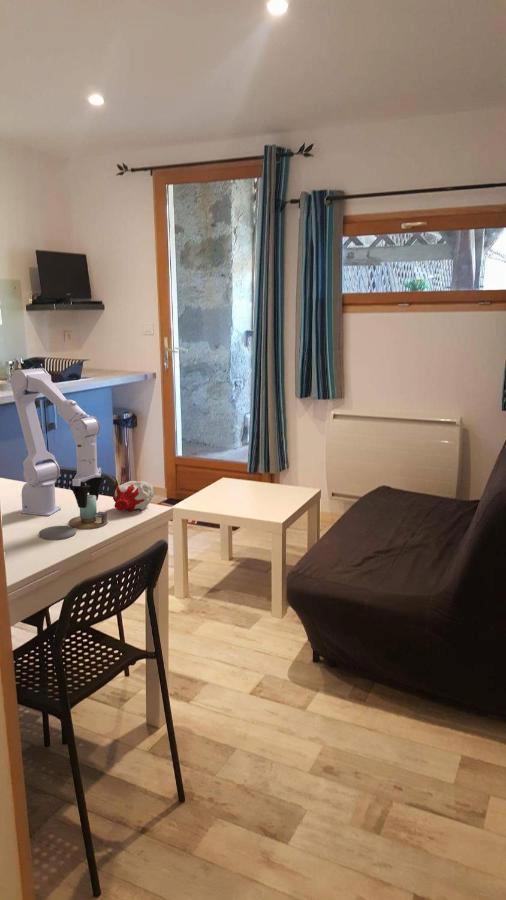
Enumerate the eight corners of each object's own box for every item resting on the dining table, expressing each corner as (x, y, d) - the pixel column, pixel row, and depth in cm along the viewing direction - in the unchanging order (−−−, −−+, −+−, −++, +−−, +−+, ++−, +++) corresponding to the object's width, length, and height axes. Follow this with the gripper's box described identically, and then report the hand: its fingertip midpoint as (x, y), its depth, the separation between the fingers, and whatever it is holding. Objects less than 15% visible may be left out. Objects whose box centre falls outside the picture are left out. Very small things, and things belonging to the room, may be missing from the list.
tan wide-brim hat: (61, 527, 189) (61, 515, 188) (79, 515, 200) (79, 504, 199) (97, 530, 187) (97, 519, 186) (114, 518, 198) (113, 507, 197)
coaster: (32, 537, 180) (31, 535, 180) (50, 526, 189) (50, 524, 189) (65, 541, 178) (65, 539, 178) (82, 529, 187) (82, 527, 187)
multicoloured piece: (155, 502, 213) (139, 522, 199) (123, 499, 215) (104, 519, 201) (154, 477, 210) (137, 495, 196) (121, 474, 212) (102, 492, 198)
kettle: (77, 518, 191) (76, 497, 190) (84, 513, 196) (83, 492, 194) (97, 520, 190) (96, 499, 188) (104, 515, 194) (103, 494, 193)
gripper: (88, 465, 181) (89, 512, 184) (110, 454, 195) (111, 497, 198) (64, 463, 183) (66, 509, 186) (88, 452, 197) (89, 496, 200)
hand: (88, 503), depth 192 cm, fingers open, 7 cm apart
